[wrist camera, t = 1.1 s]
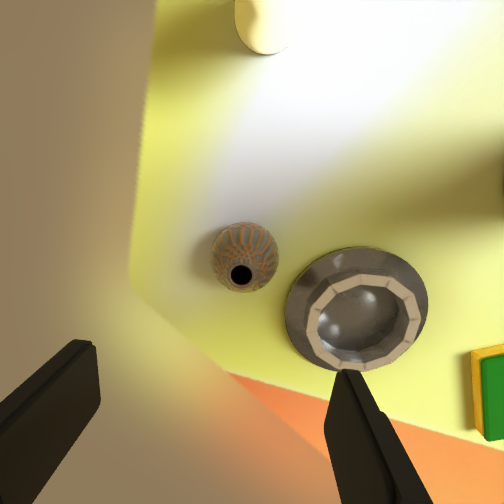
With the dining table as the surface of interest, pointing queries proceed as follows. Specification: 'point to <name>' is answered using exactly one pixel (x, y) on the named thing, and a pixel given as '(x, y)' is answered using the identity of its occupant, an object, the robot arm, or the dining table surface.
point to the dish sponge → (488, 391)
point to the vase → (244, 257)
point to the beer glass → (267, 23)
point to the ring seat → (356, 309)
